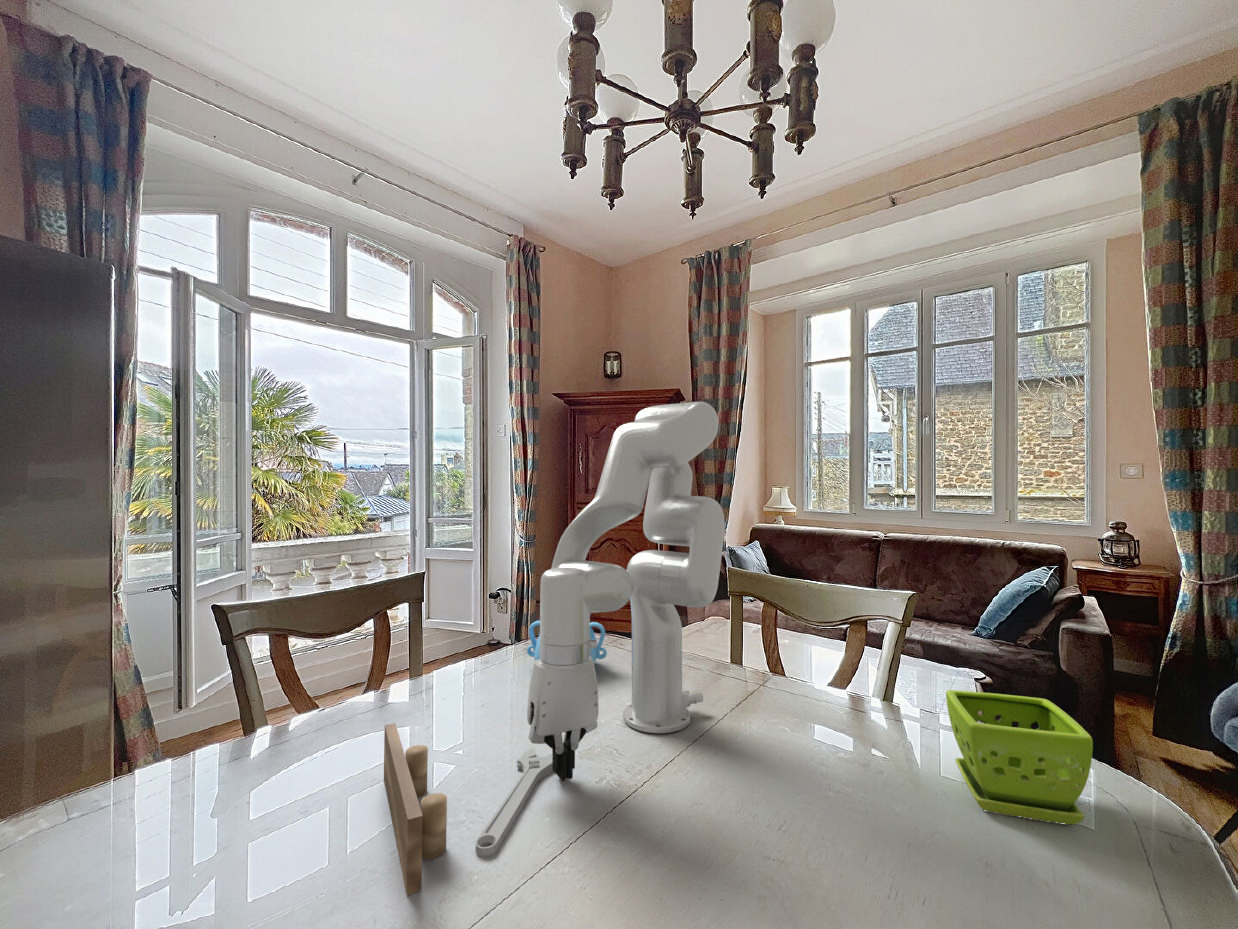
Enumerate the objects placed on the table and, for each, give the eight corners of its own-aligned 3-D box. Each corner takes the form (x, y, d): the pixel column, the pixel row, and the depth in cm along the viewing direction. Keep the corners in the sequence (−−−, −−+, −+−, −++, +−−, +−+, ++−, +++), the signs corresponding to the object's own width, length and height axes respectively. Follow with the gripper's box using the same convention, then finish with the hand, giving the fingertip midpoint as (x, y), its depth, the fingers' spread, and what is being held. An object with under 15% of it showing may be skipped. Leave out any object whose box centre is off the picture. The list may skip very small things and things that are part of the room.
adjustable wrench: (492, 863, 64) (492, 848, 64) (444, 854, 66) (444, 839, 66) (567, 758, 88) (567, 747, 88) (531, 753, 90) (531, 742, 90)
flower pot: (1052, 784, 80) (1050, 697, 80) (1101, 843, 67) (1098, 739, 67) (944, 768, 85) (943, 686, 85) (970, 820, 71) (968, 722, 72)
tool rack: (420, 770, 83) (421, 718, 84) (456, 878, 61) (457, 806, 61) (383, 779, 81) (384, 725, 81) (406, 895, 58) (407, 819, 58)
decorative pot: (521, 665, 132) (522, 609, 133) (579, 654, 141) (579, 601, 141) (550, 686, 119) (550, 624, 119) (612, 672, 127) (612, 614, 128)
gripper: (597, 638, 88) (597, 753, 88) (509, 651, 81) (507, 776, 80) (619, 651, 82) (619, 775, 81) (525, 666, 75) (523, 802, 74)
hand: (563, 775), depth 81 cm, fingers closed
